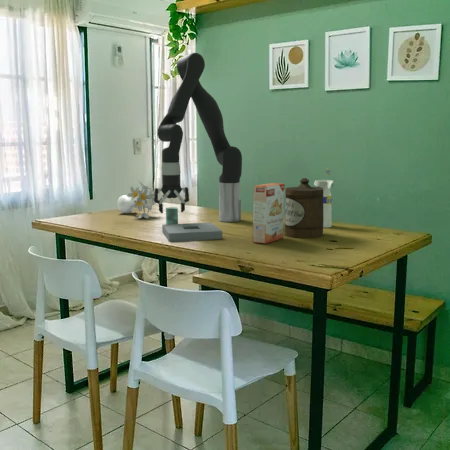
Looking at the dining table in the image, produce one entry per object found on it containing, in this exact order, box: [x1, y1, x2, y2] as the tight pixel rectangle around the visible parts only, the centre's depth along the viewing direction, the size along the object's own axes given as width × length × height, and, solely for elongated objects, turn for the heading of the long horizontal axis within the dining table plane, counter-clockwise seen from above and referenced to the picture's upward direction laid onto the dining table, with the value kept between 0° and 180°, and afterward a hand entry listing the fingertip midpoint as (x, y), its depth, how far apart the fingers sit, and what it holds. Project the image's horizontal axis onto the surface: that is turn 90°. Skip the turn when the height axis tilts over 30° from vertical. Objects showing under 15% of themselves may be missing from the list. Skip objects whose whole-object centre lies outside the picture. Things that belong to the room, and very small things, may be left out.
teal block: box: [165, 206, 179, 224], centre depth 231 cm, size 4×4×8 cm
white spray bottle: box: [313, 167, 334, 229], centre depth 233 cm, size 8×9×25 cm
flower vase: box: [116, 180, 156, 219], centre depth 266 cm, size 13×18×25 cm
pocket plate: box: [161, 222, 223, 242], centre depth 215 cm, size 20×20×3 cm
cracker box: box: [252, 182, 286, 245], centre depth 204 cm, size 14×6×21 cm, turn 147°
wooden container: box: [284, 177, 324, 239], centre depth 215 cm, size 15×15×22 cm
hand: (171, 212), depth 231 cm, fingers open, 8 cm apart
